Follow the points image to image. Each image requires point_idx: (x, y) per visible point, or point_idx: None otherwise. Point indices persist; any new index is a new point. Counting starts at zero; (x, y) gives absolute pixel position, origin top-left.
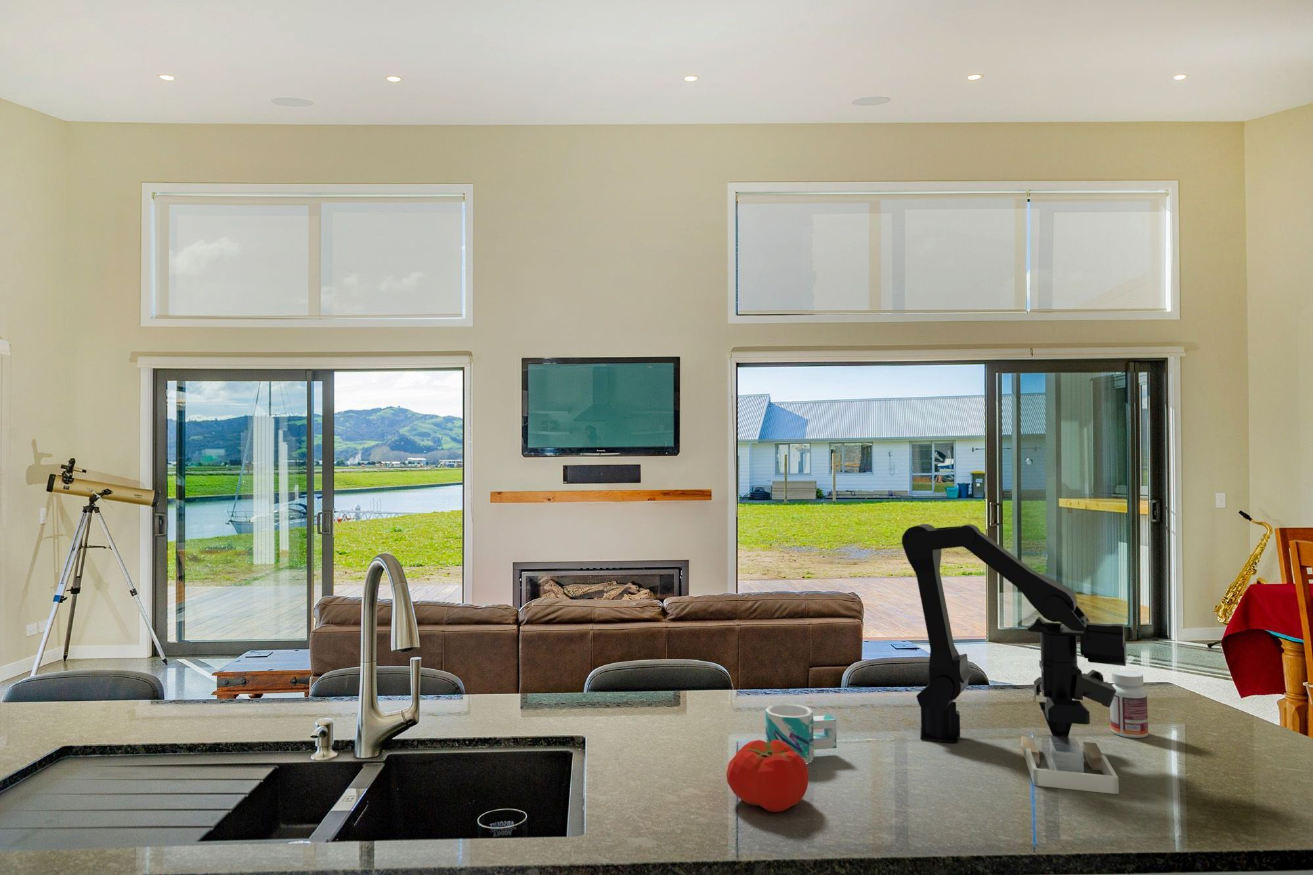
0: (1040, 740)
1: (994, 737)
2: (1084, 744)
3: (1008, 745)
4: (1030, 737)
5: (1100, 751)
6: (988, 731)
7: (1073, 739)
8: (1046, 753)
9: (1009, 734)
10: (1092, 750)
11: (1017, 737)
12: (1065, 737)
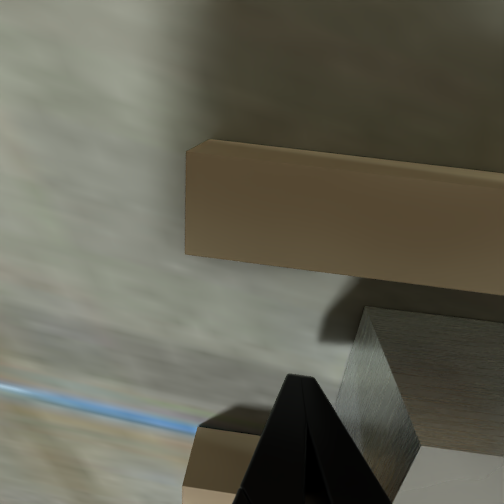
0: (52, 370)
1: (95, 500)
2: (253, 262)
3: (180, 487)
4: (187, 495)
5: (441, 184)
6: (28, 499)
7: (479, 469)
8: (252, 396)
9: (27, 453)
10: (411, 247)
11: (54, 439)
12: (417, 501)
